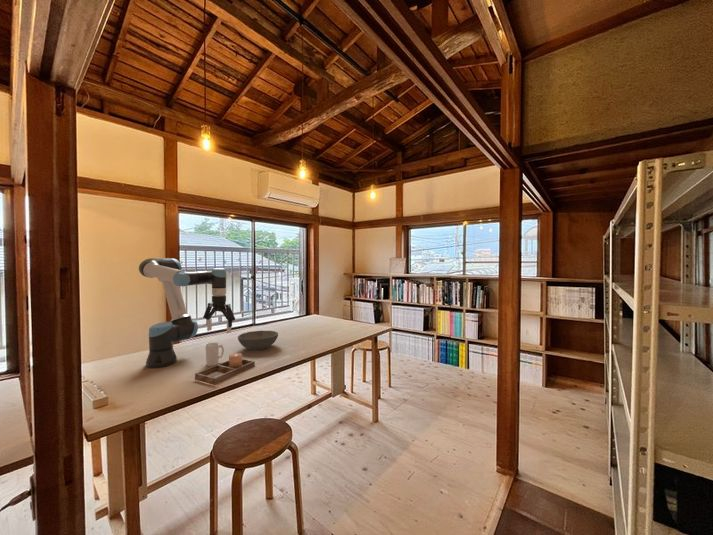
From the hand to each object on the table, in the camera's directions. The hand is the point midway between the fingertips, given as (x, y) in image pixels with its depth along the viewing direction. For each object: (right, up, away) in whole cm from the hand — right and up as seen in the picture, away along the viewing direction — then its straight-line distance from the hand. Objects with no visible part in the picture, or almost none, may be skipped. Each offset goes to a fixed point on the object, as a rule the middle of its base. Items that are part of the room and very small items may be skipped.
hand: (219, 331), depth 170 cm
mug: (-3, -20, +2) cm, 20 cm away
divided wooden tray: (+9, -20, -11) cm, 24 cm away
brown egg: (+12, -19, -5) cm, 23 cm away
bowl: (+12, -19, +31) cm, 38 cm away
